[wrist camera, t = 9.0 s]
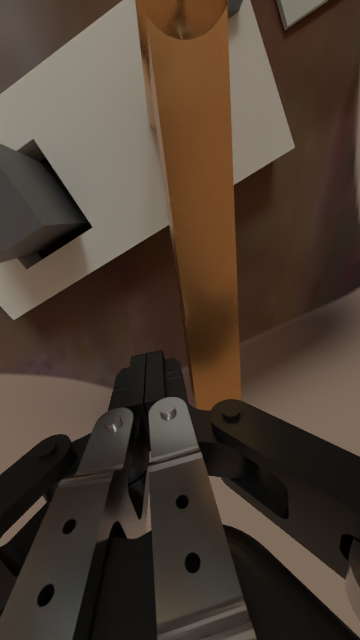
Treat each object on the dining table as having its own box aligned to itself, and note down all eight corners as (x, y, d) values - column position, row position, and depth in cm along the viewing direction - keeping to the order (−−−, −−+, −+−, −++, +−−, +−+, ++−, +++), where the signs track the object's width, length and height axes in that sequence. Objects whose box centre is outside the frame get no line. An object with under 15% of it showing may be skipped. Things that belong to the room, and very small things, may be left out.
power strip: (-71, 188, 17) (-131, 181, 13) (213, -22, 14) (230, -100, 11) (32, 306, 21) (7, 324, 17) (273, 158, 18) (301, 144, 14)
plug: (7, 199, 18) (-101, 186, 10) (53, 167, 17) (-27, 131, 10) (46, 249, 19) (-24, 270, 12) (89, 222, 19) (44, 225, 11)
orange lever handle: (181, 348, 20) (196, 441, 12) (144, 89, 13) (120, -106, 5) (210, 344, 20) (246, 433, 12) (187, 83, 13) (231, -118, 5)
